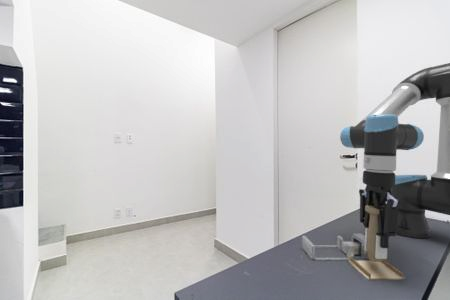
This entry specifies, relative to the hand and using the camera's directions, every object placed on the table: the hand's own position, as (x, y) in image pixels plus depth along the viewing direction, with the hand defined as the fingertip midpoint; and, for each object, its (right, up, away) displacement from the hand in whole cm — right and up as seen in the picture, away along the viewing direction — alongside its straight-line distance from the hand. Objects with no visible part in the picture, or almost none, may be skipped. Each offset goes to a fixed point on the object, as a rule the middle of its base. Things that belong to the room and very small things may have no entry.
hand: (375, 254), depth 66 cm
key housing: (+4, -4, +10) cm, 12 cm away
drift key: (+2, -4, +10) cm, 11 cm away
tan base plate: (0, -5, 0) cm, 5 cm away
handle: (0, -2, 0) cm, 2 cm away
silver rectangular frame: (-9, -4, +10) cm, 14 cm away
